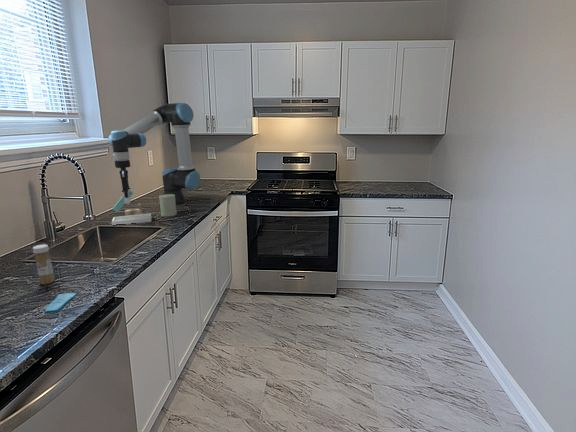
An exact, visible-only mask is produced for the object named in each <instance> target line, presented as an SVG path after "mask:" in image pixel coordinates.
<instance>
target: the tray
mask: <svg viewBox="0 0 576 432" xmlns="http://www.w3.org/2000/svg"><path fill="white" fill-rule="evenodd" d="M151 222H152V213H142V214H140V215H130V216H125V215H123V216H114V217H113V218H112V220H111V226H112V225H116V224H126V225H132V224H131V223H136V224H143V223H151Z"/></svg>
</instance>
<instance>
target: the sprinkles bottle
mask: <svg viewBox="0 0 576 432" xmlns="http://www.w3.org/2000/svg"><path fill="white" fill-rule="evenodd" d="M32 253H33V255H34V258H35V262H36V263H35V264H36V268H37V269H36V270H37V274H38V278H39V279H38V280H39V283H40V284H41V285H47V284H52V283H53V282H54V281H55V280H56V279H55V275H54V271H53V266H52V260H51V256H50V248H49V245H48V244H37V245H35V246H33V247H32Z"/></svg>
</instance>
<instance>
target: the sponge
mask: <svg viewBox="0 0 576 432" xmlns="http://www.w3.org/2000/svg"><path fill="white" fill-rule="evenodd" d="M77 295H78V294H77V293H76V292H65V293H60V294H58V295H57V296H56V297H55V298H54V299H53V300H52V301H51V302H50V303H49V304H48V305H47V306H46V307H45V310H44V314H48V313H58V312H59V311H61V310H62V309H63V308H64V307H65V306H66V305H67V304H68V303H69V302H71V301H72V299H74V298H75V297H76V296H77Z"/></svg>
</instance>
